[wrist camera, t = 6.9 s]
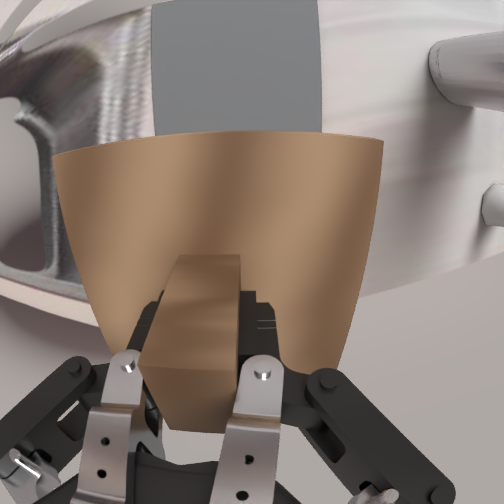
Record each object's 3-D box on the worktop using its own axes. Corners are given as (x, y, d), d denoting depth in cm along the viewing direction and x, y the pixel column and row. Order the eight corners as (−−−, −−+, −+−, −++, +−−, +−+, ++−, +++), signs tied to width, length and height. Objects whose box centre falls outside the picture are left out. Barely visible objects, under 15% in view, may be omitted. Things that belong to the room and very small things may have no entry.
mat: (315, -3, 20) (316, -5, 19) (320, 140, 28) (321, 141, 28) (153, 6, 20) (152, 4, 19) (158, 147, 29) (156, 148, 28)
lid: (373, 138, 10) (492, 181, 4) (331, 365, 17) (353, 458, 11) (64, 152, 10) (-49, 203, 4) (125, 362, 17) (96, 448, 11)
